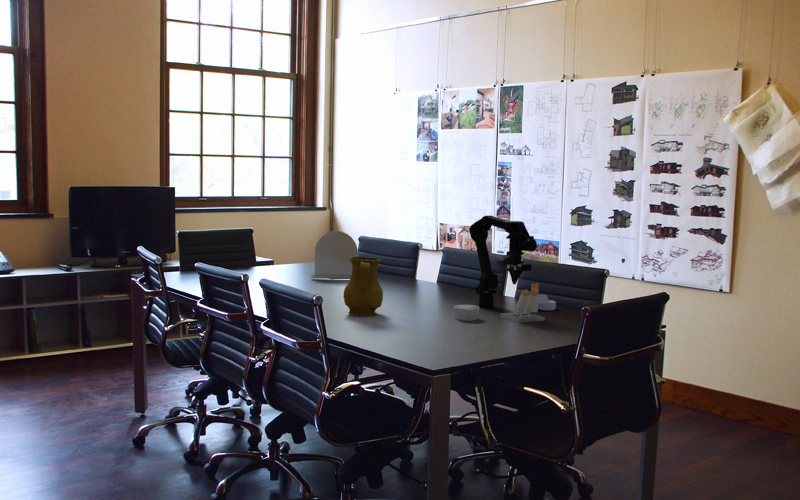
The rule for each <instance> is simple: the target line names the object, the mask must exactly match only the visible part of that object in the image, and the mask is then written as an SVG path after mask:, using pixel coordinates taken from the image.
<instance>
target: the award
mask: <svg viewBox="0 0 800 500" xmlns="http://www.w3.org/2000/svg"><path fill="white" fill-rule="evenodd" d="M358 250H359V249H358V247H357V243H356V241H355V240H354V239H353V237H352V236H351V235H349V234H348V233H345V232H344V231H340V230H333V231H329V232H326V233H325V234H323V235H321V237H320V238H319V239H318V241H317V243H316V245H315V247H314V274H311V275H310V277H311V278H329V279H350V278H351V274H352V263H351V261H350V260H349V258H350V257H359V256H358V255H359V254H358V253H359V251H358ZM311 278H310V279H311Z"/></svg>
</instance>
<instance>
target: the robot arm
mask: <svg viewBox="0 0 800 500" xmlns="http://www.w3.org/2000/svg"><path fill="white" fill-rule="evenodd" d="M492 227H494V228H499V229H502V230H504V231H505V232H506V233H507V234H508V235H507V236H506V237H505V238H506V239H507V240H508V239H509V242H508V243H509V244H508V251H507V252H506V253H505V255H503V256H501V257H498V258H497V259H496V262H497V266H498V267H501V268H505V270H506V271H508V273H509V275H510V279H511V281H512V284H513V285H516V284H517V283H518V280H519V279H520V277H521V276H522V274H523V272H527V271H529V272H530V271H533V265H532V264H531V263H525V262H524V260H523V258H522V257H523V256H522V255H525V252H531V253H533V252H535V251H536V250H537V247H538V243H537V241H536V239H535V236H534V235H530V233H529V232H528V228H527V227H526V225H525V223H524V221H521V220H507V219H503V218H500V217H496V216H493V215H491V214H490V215H484V216H482V217H481V218H480V219H478V220H477V221H475V222H473V223H472V224H471V225H470V226H469V228H468V229H469V235H470V237H471V238H470V239H472V241H473V242H474V243H475V247H476V252H477V258H478V263H479V267H480V275H479V284H478V285H477V286H476V287H475V294H478V305H477V306H478V307H480V308H489V309H490V308H491V309H493V306H495V305H494V303H495V297H494V294H497V291H498V287H499V283H500V281H499V276H498V273H494V271H493V269H492V265H491V259H490V254H489V249H488V243H487V239H488V237H489V231H490V230H492Z"/></svg>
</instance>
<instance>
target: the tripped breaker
mask: <svg viewBox="0 0 800 500" xmlns="http://www.w3.org/2000/svg"><path fill="white" fill-rule="evenodd" d="M530 285H531V286H530V290H531V289H537V291H538V292H539V290H540V289H539V288H540V283H536V282H535V283H530ZM539 293H540V292H539ZM538 295H539V294H538ZM538 295H537V297H536V299H535V302H534V304H533V306H532V309H531V311H530V313H531V315H538V312H539V309H538Z"/></svg>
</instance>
